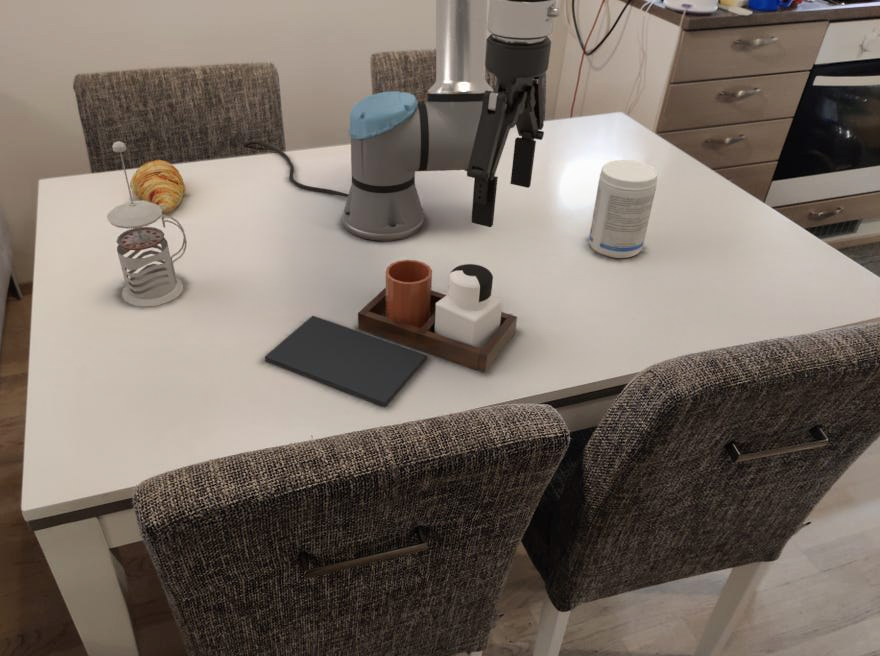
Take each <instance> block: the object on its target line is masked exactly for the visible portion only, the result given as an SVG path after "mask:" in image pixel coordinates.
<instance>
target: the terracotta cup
mask: <svg viewBox="0 0 880 656" xmlns="http://www.w3.org/2000/svg"><path fill="white" fill-rule="evenodd" d="M432 285H433V270H432V268H431V266H430V265H428V264H426V263H425V262H423V261H419V260H416V259H403V260H397V261H394V262H392V263H390V264H389V265H388V266H387V267H386V269H385V287H386V311H385V317H387V318H390V319H393V320H396V321H399V322H402V323H405V324H408V325H411V326H414V327H417V328H421V327H422V326H423V325H424V324H425V323H426V322H427V321H428V320H429V318H430V317H431V312H432V311H431V290H432Z"/></svg>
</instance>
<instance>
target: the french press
mask: <svg viewBox="0 0 880 656" xmlns="http://www.w3.org/2000/svg"><path fill="white" fill-rule="evenodd" d="M111 147H112V151H113V152H115V153H119V155H120V160H121V163H122V168H123V173H124V176H125V180H126V184H127V189H128V193H129V197H130V201H126V202H124V203H121V204H119V205H116V206H114V207H113V209H111V210H110V211H108V213H107V216H106V218H107V221H108V223H109V224H110V225H112V226H115V227H116V228H119V229H126V230H125V231H123V232H122V233H120V234H119V235H118V236H117V239H116V243H117V247H116V252H117V256H118V259H119V263H120V268H121V272H122V276H123V279H124V282H125V287H123V289H122V293H121V298H122V299H123V300H124V302H126V303H128V304H130V305H132V306H136V307H144V308H145V307H157V306H159V305H163V304H166V303H167V304H168V303H169V302H171V301H173V300H174V299H176V298H179V296H180V295H181V294H182V292H183V291H184V283H183V281H181V279H180V278H179V277H177V276H176V270H175V266H174V263H175V262H176V261H178V260H180V259H181V258H182V257H183V255H184V254H185V252H186V250H187V244H188V242H187V237H186V233H185V230H184V227H183V226H182V224H181V223H180V221H179V220H177V219H175V218H174V217H172V216H170V215H169V216H168V215H165V214H164V215H162V213H163V211H162V209H161V207H160V206H159V205H156V204H154V203H151V202H147V201H144V200H133V196H132V192H131V191H132V190H131V188H130V182H129V179H128V175H127V174H128V173H127V171H126V166H125V162H124V161H125V160H124V157H123V152H125V151H127V146H126V143H124V142H122V141H120V140H118V141H114V142H113V144H112V146H111ZM165 218H169V220H168V219H165ZM160 219H161V222H162V226H163V228H164V229H165V228H166V223H170V224H173V225H175V226H176V227H178V229H179V230H180V231H181V233H182V235H183V240H182V244H181V247H180V248H179V250H178V251H176V252H175V253H174V254H172V255H171V253H170V247H169V244H168V240H167V239H166V237H165V233H164V231H163V230H162V229H159V228H157V227H155V226H154V227H153V226H150V225H152V224H154V223H156V222H157V221H159V220H160ZM170 219H171V220H170ZM148 249H150V250H148ZM152 249H158V250H159V251H160V252H159V251H156V250H152ZM143 250H144V251H143ZM145 250H146V251H145ZM182 250H183V251H182ZM131 251H133V252H131ZM141 251H143V252H141ZM129 252H131V253H130V254H129V255H127V253H129ZM139 252H141V253H140V254H139ZM181 252H182V253H181ZM180 253H181V254H180ZM138 254H139V255H138ZM179 254H180V255H179ZM125 255H127V256H125ZM136 255H138V256H137V257H135V256H136ZM149 255H150V256H149ZM177 255H179V256H177ZM175 256H177V257H176V258H175ZM173 258H174V259H173ZM154 262H158V263H159V264H157V263H154ZM139 269H141V270H139ZM127 270H128V271H127ZM137 270H139V271H138V272H137Z"/></svg>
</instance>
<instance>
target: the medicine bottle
mask: <svg viewBox="0 0 880 656" xmlns="http://www.w3.org/2000/svg"><path fill="white" fill-rule="evenodd" d="M493 281H494V276H493V273H492V272H491V271H490V270H489V269H488V268H487V267H485V266H483V265H480V264H475V263H467V264H461V265H458V266H455V267H454V268H453V269H452V270H451V271H450V272H449V281H448V283H449V284H448V285H449V286H448V294H445V295H446V296H445V297H444V298H442V299H441V300H439V301H438V302H436V308H435V312H434V313H435V330H434V333H435V334H438V335H441V336H444V337H448V338H451V339H454V340H457V341H460V342H463V343H466V344H469V345H472V346H475V347H478V348H481V349H483V348H484V347H485V346H486V344H487V343H488V342H489V340H490V339H491V338H492V337H493V335H494V334H495V333H496V332H497V330H498V329H499V328H500V321H501V312H503V302H504V301H503V299H502V298H500V297H497V296H496V295H493V294H492V290H493Z"/></svg>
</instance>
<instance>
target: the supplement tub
mask: <svg viewBox="0 0 880 656" xmlns="http://www.w3.org/2000/svg"><path fill="white" fill-rule="evenodd" d="M658 175H659V173H658V171H657V169H656V168H655V167H653V166H652V165H650V164H648V163H644V162H642V161H637V160H631V159H619V160H618V159H617V160H611V161H609V162H606V163H604V164H603V165H602V167H601V171H600V173H599V179H598V182H597V183H598V184H597V188H596V189H597V190H596V196H595V201H594V207H593V212H592V218H591V225H590V230H589V238H588V243H589V246H590V248H592V250H594V251H595V252H596V253H598V254H600V255H603V256H606V257H610V258H614V259H615V258H616V259H625V258H630V257H634V256H636V255H638V254H639V253H640V252H641V251H642V249H643V247H644V243H645V238H646V234H647V230H648V225H649V221H650V216H651V213H652V208H653V203H654V198H655V194H656V188H657V183H658Z"/></svg>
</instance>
